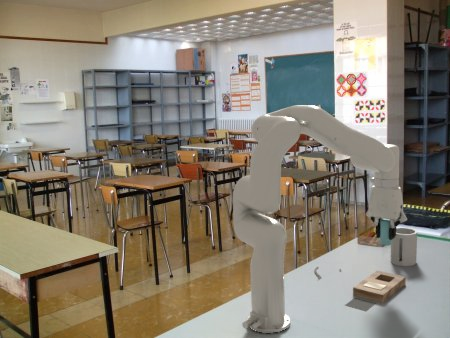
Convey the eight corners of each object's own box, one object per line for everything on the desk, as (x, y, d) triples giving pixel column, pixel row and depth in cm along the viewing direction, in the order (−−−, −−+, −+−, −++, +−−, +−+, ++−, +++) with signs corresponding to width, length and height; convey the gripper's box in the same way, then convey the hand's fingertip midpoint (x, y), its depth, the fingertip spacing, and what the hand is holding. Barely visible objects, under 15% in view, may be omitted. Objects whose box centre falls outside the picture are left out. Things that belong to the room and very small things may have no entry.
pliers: (340, 266, 186) (344, 288, 167) (340, 268, 186) (344, 290, 167) (314, 266, 188) (314, 287, 168) (314, 268, 188) (314, 290, 168)
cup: (412, 257, 194) (413, 227, 192) (419, 266, 185) (420, 234, 183) (388, 257, 195) (388, 227, 193) (393, 266, 186) (394, 234, 184)
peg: (388, 246, 163) (389, 222, 162) (378, 244, 165) (378, 220, 164) (393, 243, 166) (393, 219, 164) (382, 241, 168) (382, 218, 167)
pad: (366, 313, 150) (366, 311, 150) (344, 307, 154) (344, 305, 154) (376, 304, 155) (376, 302, 155) (355, 299, 159) (355, 297, 159)
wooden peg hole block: (382, 304, 155) (383, 294, 155) (353, 296, 162) (353, 286, 161) (405, 285, 168) (405, 276, 168) (377, 278, 175) (377, 269, 174)
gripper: (357, 182, 164) (357, 236, 168) (407, 187, 154) (406, 245, 157) (367, 178, 170) (367, 230, 173) (416, 183, 159) (415, 239, 162)
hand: (385, 237), depth 165 cm, fingers closed on peg, 3 cm apart
